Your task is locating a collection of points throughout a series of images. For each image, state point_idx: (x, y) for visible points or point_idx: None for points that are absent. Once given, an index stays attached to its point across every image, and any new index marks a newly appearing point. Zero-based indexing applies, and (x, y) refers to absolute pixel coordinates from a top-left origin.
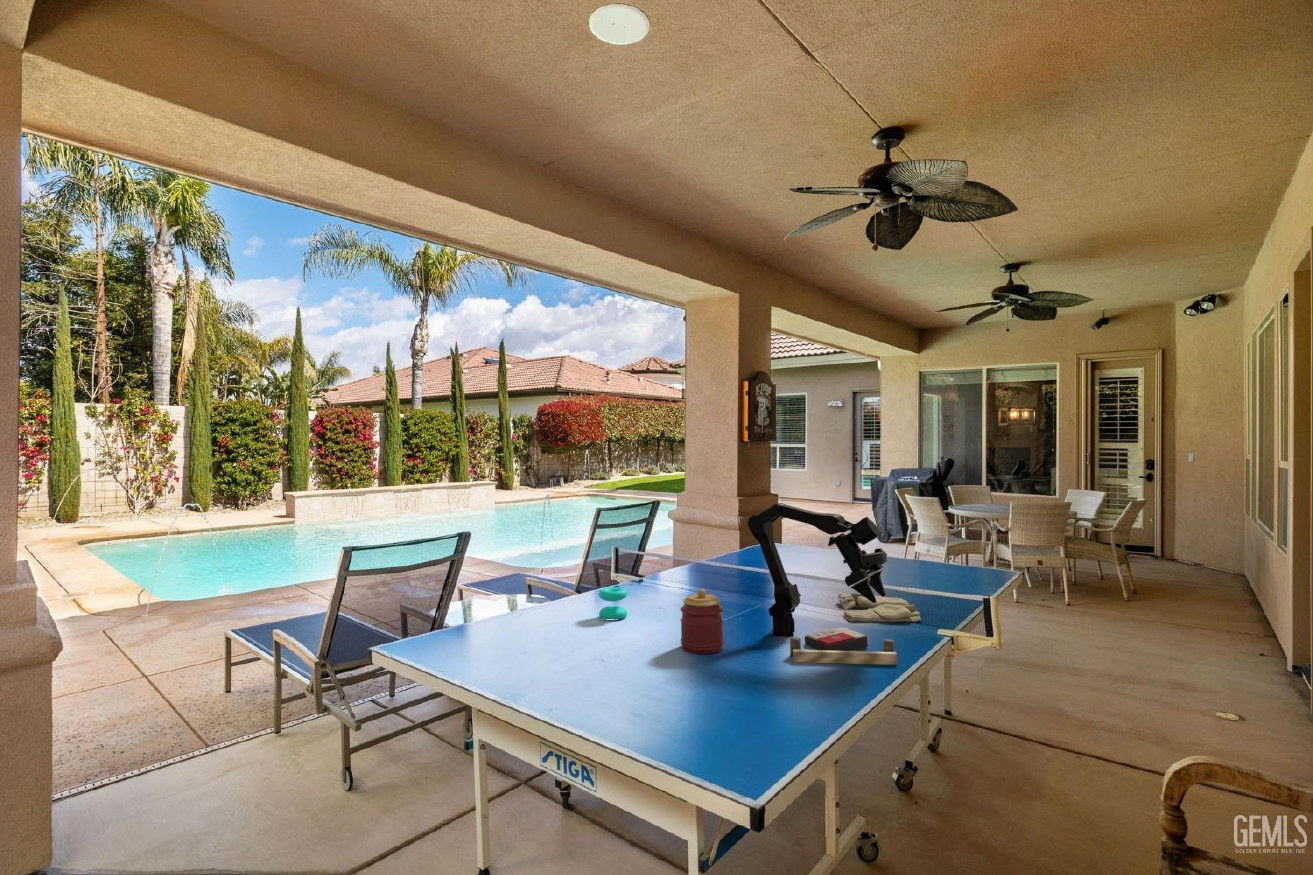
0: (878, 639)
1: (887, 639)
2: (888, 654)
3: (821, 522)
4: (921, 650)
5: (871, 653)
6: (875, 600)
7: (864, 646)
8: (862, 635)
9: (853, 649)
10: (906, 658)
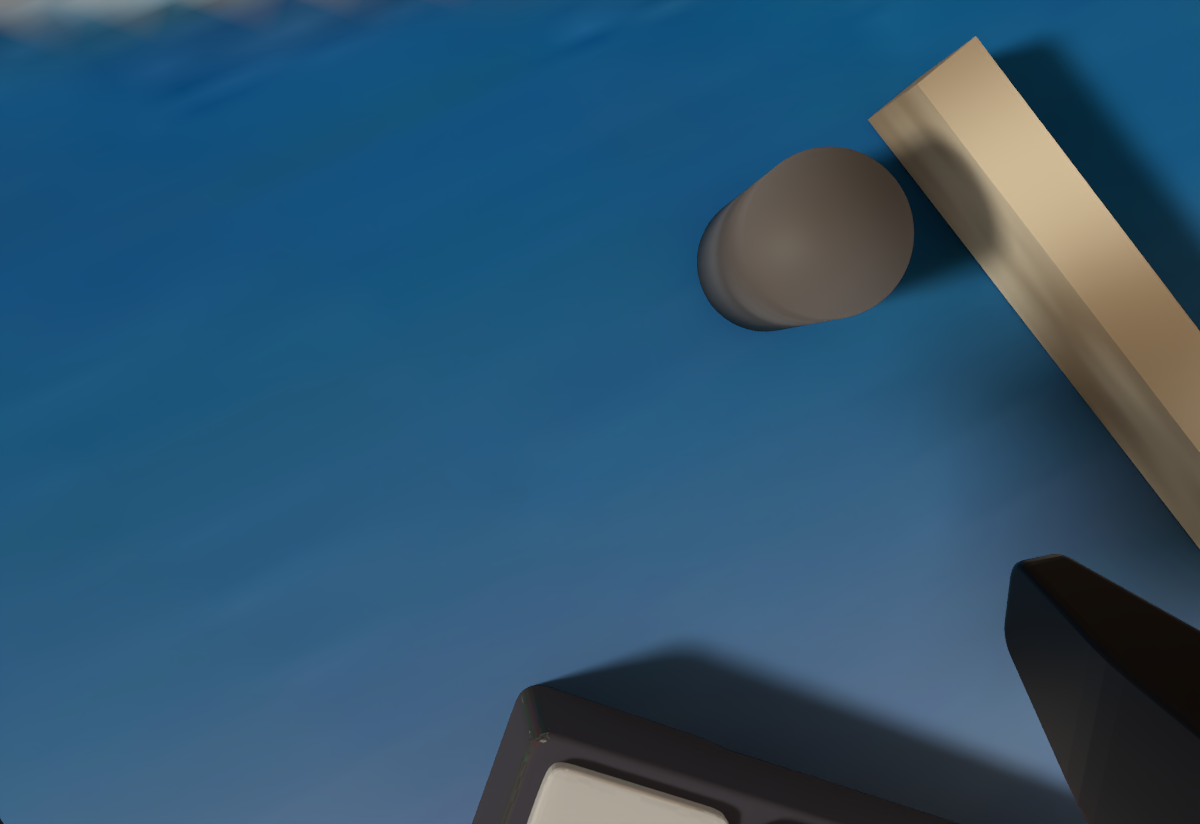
0: (73, 766)
1: (781, 279)
2: (1043, 132)
3: None
4: (136, 89)
5: (1179, 313)
6: (1097, 579)
7: (591, 707)
8: (592, 792)
9: (767, 763)
10: (609, 97)
